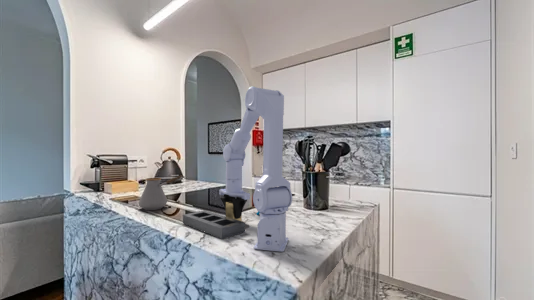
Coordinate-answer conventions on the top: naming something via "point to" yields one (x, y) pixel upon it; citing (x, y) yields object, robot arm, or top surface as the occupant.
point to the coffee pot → (154, 194)
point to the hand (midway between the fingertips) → (233, 217)
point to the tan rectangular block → (231, 211)
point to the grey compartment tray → (214, 224)
